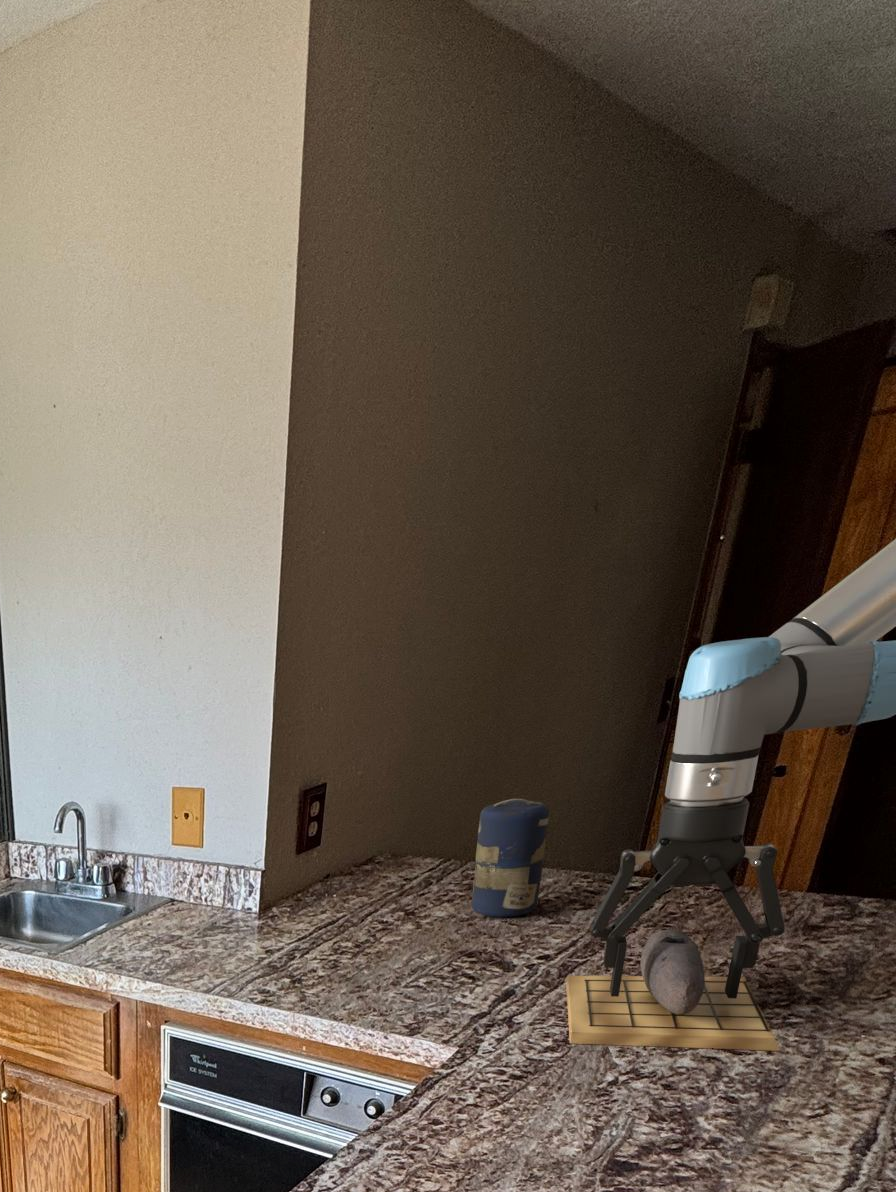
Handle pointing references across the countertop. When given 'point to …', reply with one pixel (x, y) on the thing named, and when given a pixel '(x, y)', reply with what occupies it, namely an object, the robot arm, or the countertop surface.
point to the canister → (509, 857)
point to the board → (664, 1016)
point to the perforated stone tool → (673, 971)
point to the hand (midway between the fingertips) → (670, 993)
